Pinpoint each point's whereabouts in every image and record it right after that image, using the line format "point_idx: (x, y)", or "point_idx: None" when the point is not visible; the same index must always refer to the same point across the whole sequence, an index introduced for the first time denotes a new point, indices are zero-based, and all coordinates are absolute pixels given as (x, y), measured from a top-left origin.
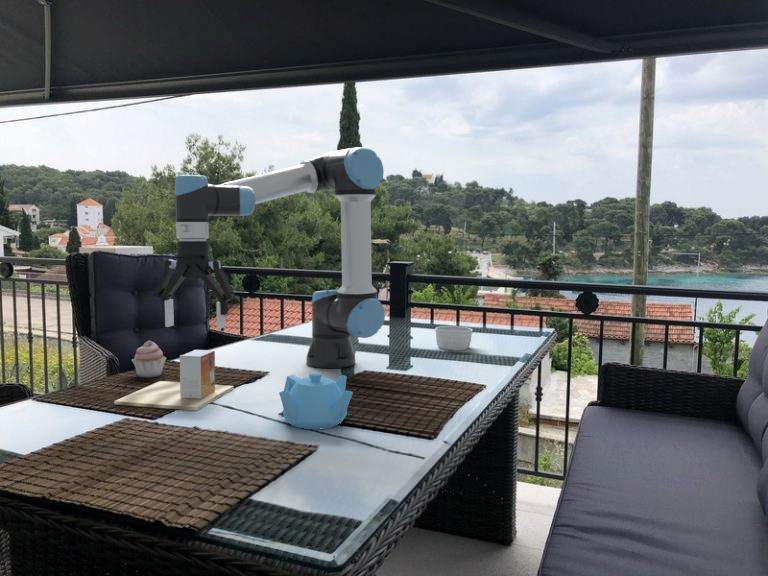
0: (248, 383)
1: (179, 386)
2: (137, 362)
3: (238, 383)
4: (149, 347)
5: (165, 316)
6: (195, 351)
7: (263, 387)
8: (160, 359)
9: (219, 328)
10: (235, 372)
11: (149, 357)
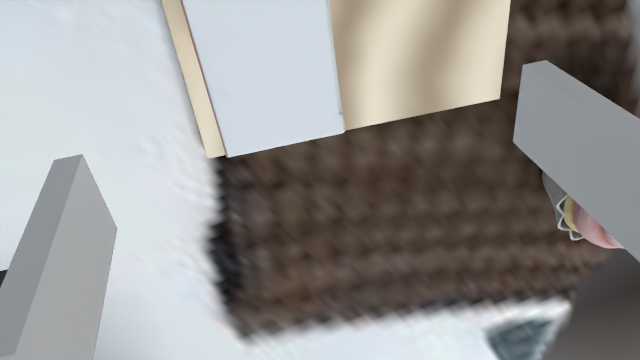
0: (209, 226)
1: (392, 67)
2: None
3: (241, 212)
4: None
5: (598, 97)
6: (307, 92)
7: (123, 211)
8: (569, 201)
9: (57, 161)
10: (334, 295)
11: None
